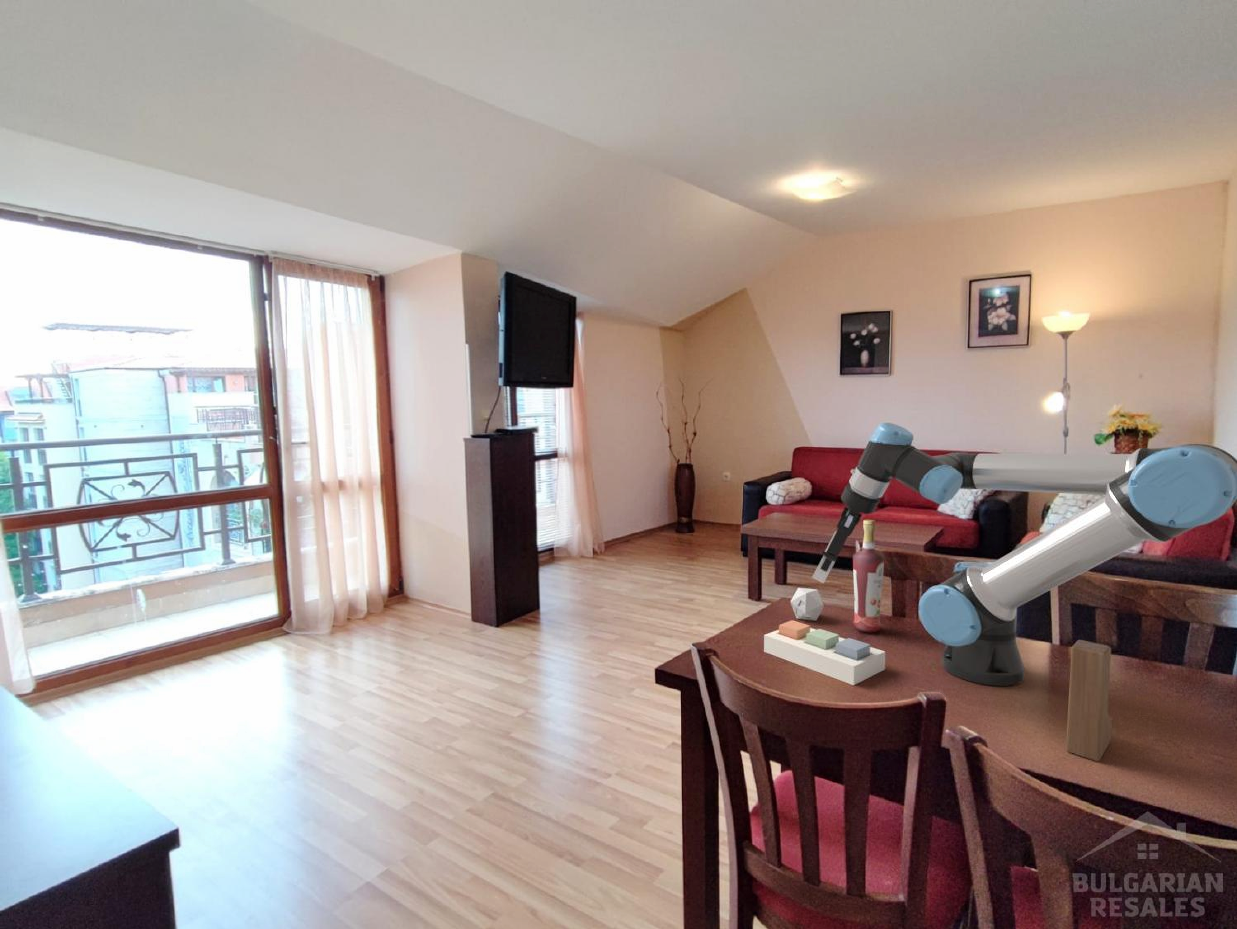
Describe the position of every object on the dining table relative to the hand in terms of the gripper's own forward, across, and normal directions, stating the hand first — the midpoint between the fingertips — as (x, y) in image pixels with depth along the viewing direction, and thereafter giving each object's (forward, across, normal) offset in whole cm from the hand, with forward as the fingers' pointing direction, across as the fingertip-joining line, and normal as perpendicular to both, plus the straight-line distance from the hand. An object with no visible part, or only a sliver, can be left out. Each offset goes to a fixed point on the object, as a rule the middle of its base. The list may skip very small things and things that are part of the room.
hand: (823, 567), depth 147 cm
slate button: (+10, +13, +13) cm, 21 cm away
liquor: (+17, -14, +16) cm, 27 cm away
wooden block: (-6, +27, +49) cm, 57 cm away
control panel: (+16, +10, +9) cm, 21 cm away
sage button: (+13, +10, +7) cm, 18 cm away
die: (+24, -16, +3) cm, 29 cm away
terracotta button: (+16, +7, +1) cm, 18 cm away
